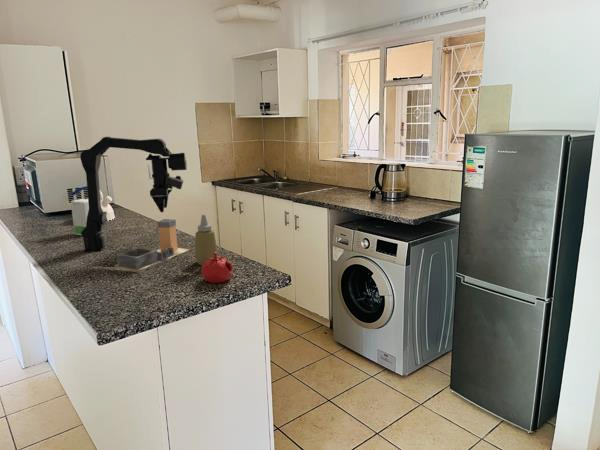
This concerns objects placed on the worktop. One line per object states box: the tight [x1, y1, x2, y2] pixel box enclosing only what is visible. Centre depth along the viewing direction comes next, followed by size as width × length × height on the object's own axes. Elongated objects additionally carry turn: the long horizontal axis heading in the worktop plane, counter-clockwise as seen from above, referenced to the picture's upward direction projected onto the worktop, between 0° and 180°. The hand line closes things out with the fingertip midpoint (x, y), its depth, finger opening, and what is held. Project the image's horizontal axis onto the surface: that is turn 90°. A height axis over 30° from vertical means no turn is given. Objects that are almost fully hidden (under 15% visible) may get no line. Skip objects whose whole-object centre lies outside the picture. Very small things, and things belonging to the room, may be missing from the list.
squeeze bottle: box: [194, 214, 219, 268], centre depth 157 cm, size 8×8×18 cm
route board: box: [114, 247, 191, 274], centre depth 165 cm, size 26×12×5 cm, turn 154°
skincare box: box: [70, 198, 89, 236], centre depth 205 cm, size 8×7×16 cm
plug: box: [156, 218, 179, 252], centre depth 171 cm, size 5×5×12 cm
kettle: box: [70, 185, 116, 222], centre depth 233 cm, size 20×21×18 cm
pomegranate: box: [200, 252, 234, 284], centre depth 143 cm, size 10×10×9 cm
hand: (163, 209), depth 182 cm, fingers open, 9 cm apart
